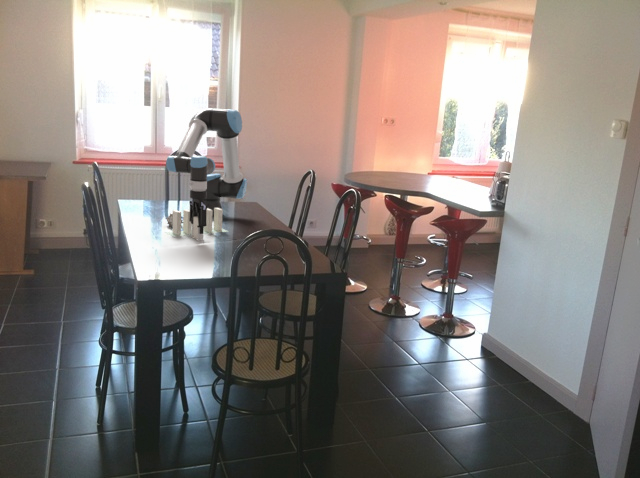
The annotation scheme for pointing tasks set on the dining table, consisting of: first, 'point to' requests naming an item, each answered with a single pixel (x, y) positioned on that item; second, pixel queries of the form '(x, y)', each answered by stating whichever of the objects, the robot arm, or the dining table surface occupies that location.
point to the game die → (171, 220)
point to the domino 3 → (195, 227)
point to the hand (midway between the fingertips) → (197, 238)
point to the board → (191, 233)
